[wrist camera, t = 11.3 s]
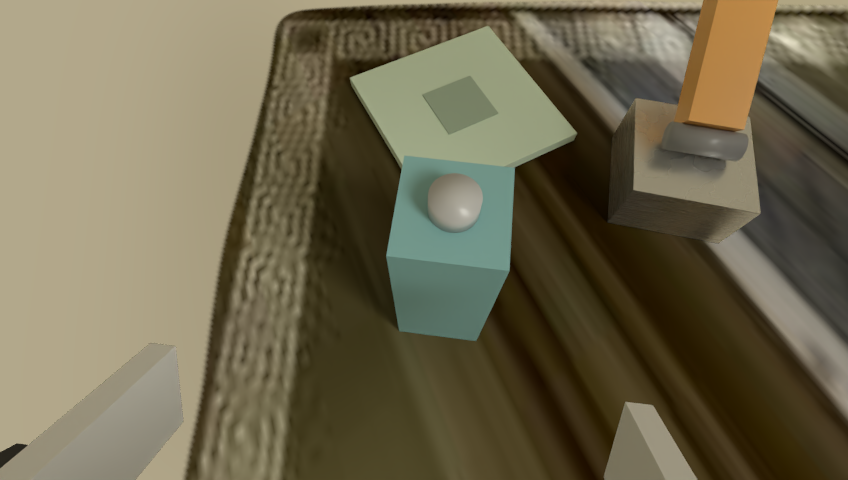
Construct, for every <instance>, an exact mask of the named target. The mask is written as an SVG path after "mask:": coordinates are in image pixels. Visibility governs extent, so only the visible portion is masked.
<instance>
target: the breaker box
mask: <svg viewBox="0 0 848 480" xmlns="http://www.w3.org/2000/svg"><path fill="white" fill-rule="evenodd" d="M677 107H678V105H674V104H668V103H662V102H656V101H650V100H644V99H638V98H636V99H635V100H634V102H633V104H632V105H631V107H630V109H629V110H628V112H627V114H626V115H625V117H624V119H623V120H622V122H621V124H620V125H619V127H618V129H617V130H616V132H615V134H614V135H613V137H612V147H611V167H610V186H609V205H608V223H613V224H618V225H624V226H629V227H634V228H640V229H645V230H650V231H655V232H661V233H666V234H671V235H676V236H682V237H687V238H692V239H697V240H703V241H708V242H713V243H718V244H719V243H720V242H721V241H723V240H724V239H726V238H727V237H728V236H730V235H731V234H733V233H734V232H735V231H737V230H738V229H740V228H741V227H742V226H744V225H745V224H747V223H748V222H749V221H751V220H752V219H754V218H755V217H756V216H758V215H759V214H761V211H760V202H759V193H758V184H757V175H756V167H755V158H754V149H753V140H752V131H751V122H750V117H747V121H746V125H745V129H744V130H741V131H737V132H738V133H744V134H747V136H748V140H749V141H748V147H747V150H746V152H745V154H744V155H743V157H742V158H741V159H740V160H738V161H736V162H734V161H728V160H723V159H717V158H711V157H706V156H700V155H694V154H688V153H683V152H677V151H671V150H665V149H663V148H662V137H663V134H664V131H665V129H666V127H667V125H668V124H669V123H670V122H672V121H673V122H674V119H675V115H676V111H677Z"/></svg>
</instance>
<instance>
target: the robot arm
mask: <svg viewBox="0 0 848 480" xmlns="http://www.w3.org/2000/svg"><path fill="white" fill-rule="evenodd" d="M182 422H183V413H182V404H181V393H180V384H179V375H178V364H177V354H176V346H172V345H163V344H156V343H150V344H149V345H147V346H146V347H145V348H144V349H143V350H141V352H139V353H138V354H137V355H135V356H134V357H133V358H132V359H131V360H129V361H128V362H127V363H126V364H125V365H124V366H122V367H121V368H120V369H119V370H117V371H116V372H115V373H114V374H113V375H112V376H110V377H109V378H108V379H107V380H105V381H104V382H103V383H102V384H101V385H99V386H98V387H97V388H96V389H95V390H94V391H92V392H91V393H90V394H89V395H88V396H86V397H85V398H84V399H83V400H82V401H81V402H79V403H78V404H77V405H76V406H74V407H73V408H72V409H71V410H70V411H68V412H67V413H66V414H65V415H64V416H62V417H61V418H60V419H59V420H58V421H57V422H55V423H54V424H53V425H52V426H51V427H49V428H48V429H47V430H46V431H44V432H43V433H42V434H41V435H40V436H38V437H37V438H36V439H35V440H34V441H32V442H31V443H30V444H29V445H24V444H15V445H13V446H11V447H10V448H8V449H6V450H4V451H2V452H0V480H136V479H137V477H138V476H139V475H140V474H141V472H142V471H143V470H144V469H145V468H146V466H147V465H148V464H149V463H150V461H151V460H152V459H153V458H154V457H155V455H156V454H157V453H158V452H159V451H160V449H161V448H162V447H163V445H164V444H165V443H166V442H167V441H168V440H169V438H170V437H171V436H172V435H173V433H174V432H175V431H176V430H177V429H178V427H179V426H180V425H181V424H182ZM604 478H605V480H697V479H696V477H695V475H694V473H693V472H692V470H691V468H690V467H689V465H688V463H687V462H686V460H685V458H684V457H683V455H682V453H681V452H680V450H679V448H678V447H677V445H676V443H675V442H674V440H673V438H672V437H671V435H670V433H669V432H668V430H667V428H666V427H665V425H664V423H663V422H662V420H661V418H660V417H659V415H658V413H657V411H656V410H655V408H654V406H653V405H647V404H639V403H631V402H625V405H624V408H623V412H622V415H621V419H620V422H619V426H618V429H617V433H616V436H615V440H614V443H613V447H612V450H611V454H610V457H609V461H608V464H607V468H606V471H605V474H604Z"/></svg>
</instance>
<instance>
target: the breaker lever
mask: <svg viewBox="0 0 848 480" xmlns="http://www.w3.org/2000/svg"><path fill="white" fill-rule="evenodd" d="M777 3H778V0H704V1H703V5H702V9H701V13H700V17H699V21H698V25H697V29H696V33H695V37H694V42H693V46H692V50H691V54H690V58H689V62H688V66H687V70H686V74H685V78H684V82H683V86H682V91H681V95H680V99H679V103H678V107H677V111H676V115H675V119H674V122H673V121H672V122H670V123H669V124H668V125H667V127H666V129H665V131H664V134H663V137H662V148H663V149H665V150H671V151H677V152H683V153H688V154H694V155H700V156H706V157H711V158H717V159H723V160H728V161H734V162H736V161H738V160H740V159H741V158H742V157H743V155H744V154H745V152H746V150H747V147H748V141H749V140H748V136H747V134H744V133H738V132H737V131H741V130H744V129H745V125H746V121H747V117H748V114H749V110H750V106H751V102H752V98H753V95H754V91H755V87H756V83H757V79H758V75H759V72H760V68H761V64H762V60H763V56H764V53H765V49H766V45H767V41H768V37H769V34H770V30H771V26H772V22H773V18H774V14H775V11H776V7H777Z"/></svg>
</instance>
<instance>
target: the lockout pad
mask: <svg viewBox="0 0 848 480" xmlns="http://www.w3.org/2000/svg"><path fill="white" fill-rule="evenodd" d="M350 81H351V86H352V88H353V89H354V91H355V93H356V94H357V96H358V98H359V99H360V101H361V103H362V104H363V106H364V108H365V109H366V111H367V113H368V114H369V116H370V118H371V119H372V121H373V123H374V124H375V126H376V128H377V129H378V131H379V133H380V134H381V136H382V138H383V139H384V141H385V143H386V144H387V146H388V148H389V149H390V151H391V153H392V154H393V156H394V158H395V159H396V161H397V163H398V164H399V166H400V168H401V169H402V165H403V160H404V156H413V157H422V158H432V159H441V160H450V161H459V162H468V163H477V164H486V165H495V166H504V167H513V168H514V167H516V166H519V165H521V164H523V163H525V162H527V161H530V160H532V159H534V158H536V157H538V156H541V155H543V154H545V153H547V152H549V151H552V150H554V149H556V148H558V147H560V146H563V145H565V144H567V143H569V142H571V141H574V139H575V137H576V135H577V132H576V131H575V130H574V129H573V127H572V126H571V125H570V124H569V123H568V121H567V120H566V119H565V118H564V117H563V115H562V114H561V113H560V112H559V111H558V109H557V108H556V107H555V106H554V104H553V103H552V102H551V101H550V100H549V98H548V97H547V96H546V95H545V94H544V92H543V91H542V90H541V89H540V88H539V86H538V85H537V84H536V83H535V82H534V80H533V79H532V78H531V77H530V76H529V74H528V73H527V72H526V71H525V69H524V68H523V67H522V66H521V65H520V63H519V62H518V61H517V60H516V59H515V57H514V56H513V55H512V54H511V53H510V51H509V50H508V49H507V48H506V47H505V45H504V44H503V43H502V42H501V41H500V39H499V38H498V37H497V36H496V34H495V33H494V32H493V31H492V30H491V28H490V27H489V26H486V27H484V28H481V29H478V30H476V31H473V32H470V33H468V34H465V35H462V36H460V37H457V38H454V39H452V40H449V41H446V42H444V43H441V44H438V45H436V46H433V47H430V48H428V49H425V50H422V51H420V52H417V53H414V54H412V55H409V56H406V57H404V58H401V59H398V60H396V61H393V62H390V63H388V64H385V65H382V66H380V67H377V68H374V69H372V70H369V71H366V72H364V73H361V74H358V75H356V76H353V77H350Z"/></svg>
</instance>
